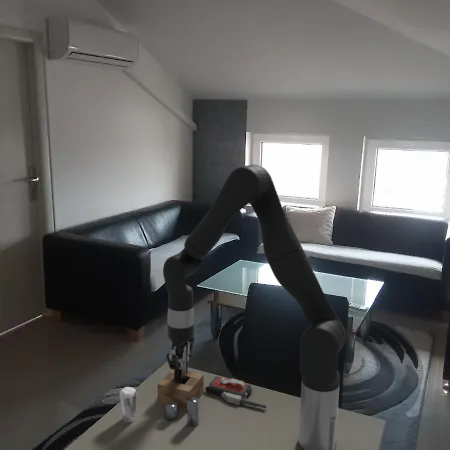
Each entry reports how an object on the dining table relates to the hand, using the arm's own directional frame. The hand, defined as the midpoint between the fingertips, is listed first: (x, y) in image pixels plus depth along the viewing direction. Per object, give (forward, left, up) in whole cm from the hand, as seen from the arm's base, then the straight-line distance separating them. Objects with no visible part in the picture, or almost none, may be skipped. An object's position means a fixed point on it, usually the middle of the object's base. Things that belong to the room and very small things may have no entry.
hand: (181, 376), depth 142 cm
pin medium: (-9, +10, -7) cm, 15 cm away
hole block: (0, 0, -7) cm, 7 cm away
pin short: (-2, +10, -7) cm, 12 cm away
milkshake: (+8, +15, -7) cm, 18 cm away
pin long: (0, 0, -4) cm, 4 cm away
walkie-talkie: (-15, -7, -8) cm, 19 cm away
